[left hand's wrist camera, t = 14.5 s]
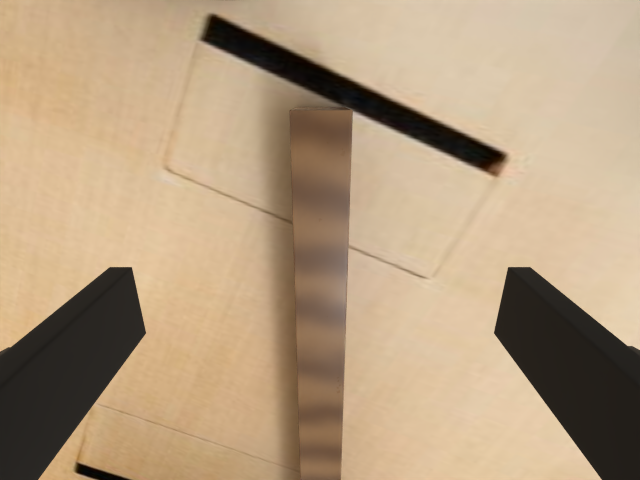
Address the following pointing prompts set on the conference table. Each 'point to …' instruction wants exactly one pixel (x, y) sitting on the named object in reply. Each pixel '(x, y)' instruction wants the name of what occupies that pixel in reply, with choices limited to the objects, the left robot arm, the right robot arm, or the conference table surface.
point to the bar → (320, 280)
